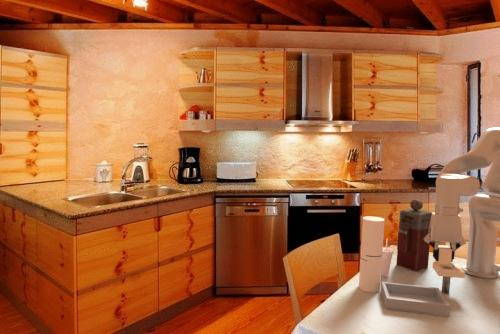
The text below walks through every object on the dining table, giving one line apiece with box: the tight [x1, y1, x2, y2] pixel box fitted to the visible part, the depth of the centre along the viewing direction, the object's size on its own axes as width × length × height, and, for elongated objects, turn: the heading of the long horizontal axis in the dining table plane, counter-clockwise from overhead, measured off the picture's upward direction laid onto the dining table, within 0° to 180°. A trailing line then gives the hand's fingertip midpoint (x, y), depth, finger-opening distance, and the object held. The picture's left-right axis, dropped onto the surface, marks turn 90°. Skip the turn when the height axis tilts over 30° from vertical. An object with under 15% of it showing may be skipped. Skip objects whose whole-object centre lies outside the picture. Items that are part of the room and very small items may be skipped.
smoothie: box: [381, 238, 394, 276], centre depth 143 cm, size 6×6×14 cm
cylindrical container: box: [358, 215, 385, 293], centre depth 129 cm, size 7×7×25 cm
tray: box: [380, 281, 451, 317], centre depth 119 cm, size 18×13×4 cm
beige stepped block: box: [432, 244, 466, 279], centre depth 130 cm, size 8×12×7 cm, turn 167°
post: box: [441, 266, 452, 295], centre depth 128 cm, size 2×2×9 cm
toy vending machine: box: [396, 198, 433, 273], centre depth 151 cm, size 9×11×28 cm
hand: (443, 259), depth 134 cm, fingers closed on beige stepped block, 4 cm apart
